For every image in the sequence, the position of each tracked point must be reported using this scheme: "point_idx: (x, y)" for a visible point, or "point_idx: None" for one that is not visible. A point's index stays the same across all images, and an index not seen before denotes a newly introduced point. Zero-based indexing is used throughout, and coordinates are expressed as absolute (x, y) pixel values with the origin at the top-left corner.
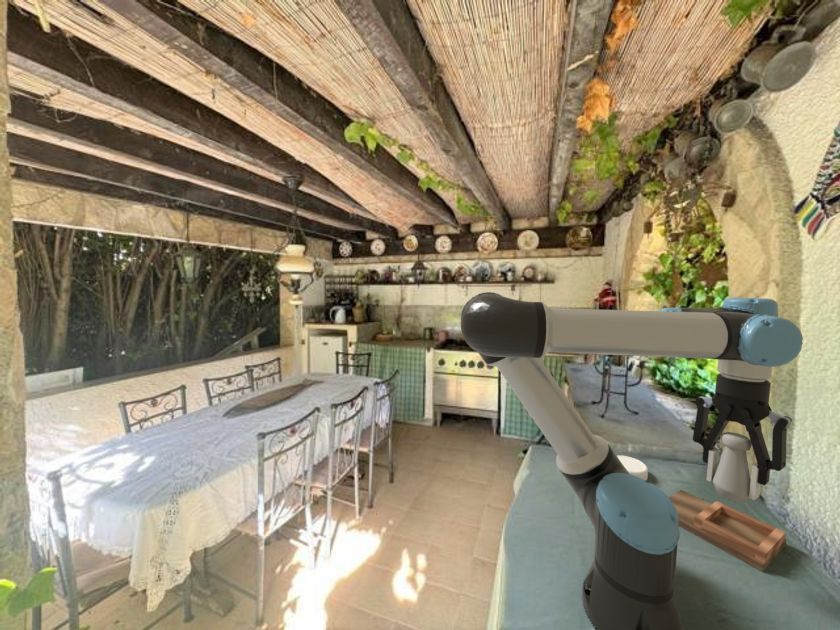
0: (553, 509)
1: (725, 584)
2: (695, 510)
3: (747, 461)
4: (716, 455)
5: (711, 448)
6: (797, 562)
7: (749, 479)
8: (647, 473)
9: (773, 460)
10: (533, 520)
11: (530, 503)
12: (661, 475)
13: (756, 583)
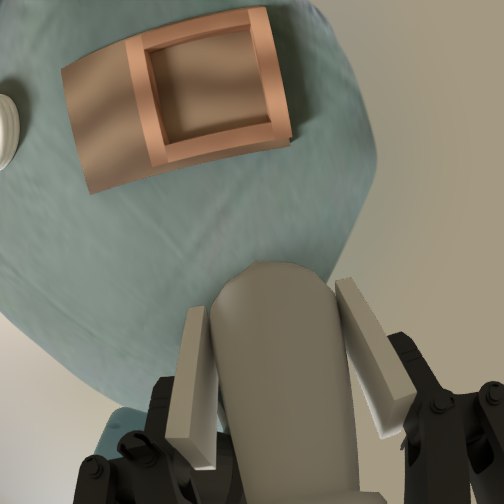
0: (86, 352)
1: (278, 244)
2: (121, 105)
3: (349, 417)
4: (202, 424)
5: (185, 465)
6: (297, 46)
7: (346, 359)
8: (5, 105)
9: (468, 461)
10: (110, 384)
11: (76, 367)
12: (16, 58)
13: (298, 188)
